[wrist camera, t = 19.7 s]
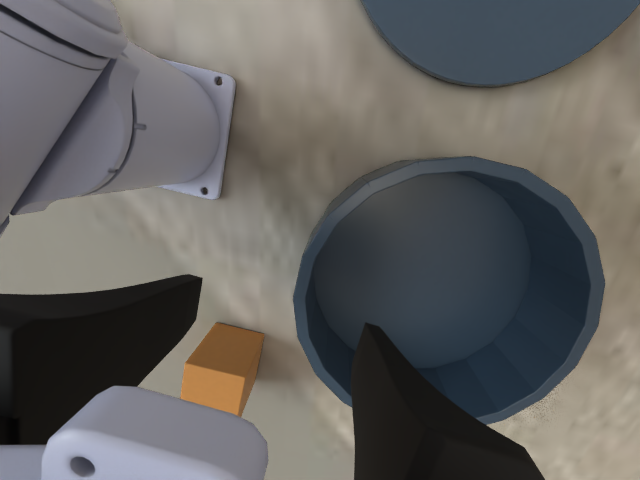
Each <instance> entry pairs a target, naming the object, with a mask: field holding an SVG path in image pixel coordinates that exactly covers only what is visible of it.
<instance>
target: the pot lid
mask: <svg viewBox="0 0 640 480" xmlns="http://www.w3.org/2000/svg"><path fill="white" fill-rule="evenodd" d="M361 2H362V4H363V6H364V8H365V10H366V12H367V14H368V16H369V18H370V20H371V21H372V23H373V24H374V26H375V27H376V29H377V30H378V31H379V33H380V34H381V36H382V37H383V38H384V39H385V41H386V42H387V43H388V44H389V45H390V46H391V47H392V48H393V49H394V50H395V51H396V52H397V53H398V54H399V55H400V56H402V57H403V58H404V59H405V60H407V61H408V62H409V63H410V64H412V65H413V66H415V67H417V68H418V69H420V70H422V71H424V72H425V73H427V74H429V75H432V76H434V77H437V78H439V79H442V80H444V81H448V82H452V83H456V84H461V85H467V86H478V87H489V86H504V85H509V84H515V83H520V82H524V81H527V80H530V79H533V78H536V77H539V76H542V75H545V74H547V73H549V72H552V71H554V70H556V69H558V68H560V67H562V66H564V65H567V64H569V63H570V62H572V61H573V60H575V59H577V58H578V57H580V56H582V55H583V54H585V53H587V52H588V51H589V50H591V49H592V48H593V47H595V46H596V45H597V44H599V43H600V42H601V41H603V40H604V39H605V38H606V37H608V36H609V35H610V34H611V33H612V32H613V31H614V30H615V29H616V28H617V27H618V26H619V25H620V24H621V23H623V22H624V21H625V20H626V19H627V18H628V16H629V15H630V14H631V13H632V12H633V11H634V10H635V8H636V7H637V6H638V5H639V4H640V0H361Z"/></svg>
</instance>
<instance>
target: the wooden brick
mask: <svg viewBox="0 0 640 480" xmlns="http://www.w3.org/2000/svg"><path fill="white" fill-rule="evenodd" d="M263 340H264V334H262V333H258V332H254V331H250V330H246V329H241V328H237V327H233V326H229V325H225V324H221V323H215V325H214V326H213V327H212V329H211V330H210V331H209V333H208V334H207V335H206V336H205V338H204V339H203V340H202V342H201V343H200V344H199V346H198V347H197V348H196V349H195V351H194V352H193V353H192V355H191V356H190V357H189V359H188V360H187V361H186V362H185V366H184V374H183V382H182V390H181V397H180V399H183V400H187V401H190V402H194V403H197V404H201V405H204V406H208V407H211V408H215V409H219V410H222V411H226V412H229V413H233V414H235V415H237V416H239V417H241V416H242V413H243V410H244V408H245V405H246V403H247V400H248V397H249V395H250V392H251V390H252V387H253V385H254V382H255V378H256V374H257V369H258V364H259V359H260V354H261V350H262V345H263Z"/></svg>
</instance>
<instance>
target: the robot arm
mask: <svg viewBox="0 0 640 480" xmlns="http://www.w3.org/2000/svg"><path fill="white" fill-rule="evenodd" d="M219 78H222V84H221V85H220V86H218V85H217V80H218V79H219ZM235 88H236V82H235V80H234V79H233V78H232V77H231V76H230V75H228V74H224V73H219V72H215V71H211V70H207V69H203V68H199V67H195V66H190V65H186V64H182V63H178V62H174V61H170V60H166V59H161V58H158V57H156V56H154V55H153V54H151V53H149V52H147V51H146V50H144V49H142V48H140V47H139V46H137V45H135V44H133V43H132V42H130V41H128V39H127V36H126V34H125V32H124V30H123V29H122V26H121V23H120V20H119V16H118V13H117V10H116V8H115V6H114V5H113V3H112V2H111V1H110V0H0V237H1V236H2V234H3V232H4V230H5V229H6V227H7V225H8V224H9V213H10V214H11V215H19V214H25V213H31V212H37V211H44V210H45V209H46V208H47V207H48V205H49V204H51V203H52V202H54V201H56V200H59V199H64V198H72V197H78V196H87V195H95V194H102V193H110V192H117V191H125V190H132V189H140V188H147V187H155V186H156V187H160V188H164V189H168V190H173V191H177V192H181V193H185V194H189V195H193V196H197V197H201V198H206V199H210V200H215V199H218V198H219V197H220V194H221V187H222V180H223V173H224V166H225V159H226V152H227V145H228V138H229V131H230V124H231V116H232V109H233V102H234V95H235ZM204 187H205V188H207V189H208V194H205V193H204V192H203V189H204ZM202 279H203V278H201V277H197V276H193V275H190V274H188V275H180V276H175V277H171V278H166V279H162V280H158V281H153V282H149V283H144V284H139V285H134V286H129V287H124V288H118V289H112V290H104V291H96V292H86V293H70V294H51V295H21V294H0V480H264V476H265V472H266V468H267V464H268V449H267V442H266V440H265V439H264V438H263V436H262V435H261V434H260V432H259V431H258V429H257V428H256V427H255V425H254V424H252V423H251V422H249V421H247V420H245V419H243V418H241V417H239V416H237V415H235V414H233V413H229V412H226V411H222V410H219V409H215V408H211V407H208V406H204V405H201V404H197V403H194V402H190V401H187V400H183V399H179V398H176V397H172V396H169V395H165V394H162V393H158V392H154V391H151V390H147V389H144V388H140V387H137V386H138V385H139V384H140V383H141V382H142V380H143V379H144V378H145V377H146V376H147V375H148V374H149V373H150V372H151V371H152V370H153V369H154V368H155V367H156V366H157V365H158V364H159V363H160V362H161V361H162V359H163V358H164V357H165V356H166V355H167V354H168V353H169V352H170V351H171V350H172V349H173V348H174V347H175V346H176V345H177V344H178V343H179V342H180V341H181V339H182V338H183V337H184V336H185V334H186V333H187V332H188V330H189V329H190V328H191V326H192V325H193V323H194V322H195V320H196V316H197V310H198V304H199V298H200V292H201V286H202ZM351 396H352V409H353V422H354V435H355V471H354V480H545V479H544V477H543V476H542V474H541V472H540V471H539V469H538V468H537V466H536V465H535V463H534V461H533V460H532V458H531V457H530V455H529V454H528V452H527V451H526V449H525V448H524V447H523V446H521V445H519V444H517V443H516V442H514V441H512V440H510V439H509V438H507V437H505V436H503V435H502V434H500V433H498V432H496V431H495V430H493V429H491V428H490V427H488V426H486V425H485V424H483V423H482V422H480V421H479V420H477V419H476V418H474V417H473V416H471V415H470V414H468V413H467V412H466V411H464V410H463V409H461V408H460V407H459V406H457V405H456V404H455V403H453V402H452V401H451V400H450V399H448V398H447V397H446V396H444V395H443V394H442V393H441V392H440V391H438V390H437V389H436V388H435V387H434V386H433V385H432V384H431V383H430V382H428V381H427V380H426V379H425V378H424V377H423V376H422V375H421V374H420V373H419V372H418V371H417V370H416V369H415V368H414V367H413V366H412V365H411V363H410V362H409V361H408V360H407V359H406V358H405V357H404V356H403V354H402V353H401V352H400V351H399V350H398V348H397V347H396V346H395V345H394V343H393V342H392V341H391V340H390V338H389V337H388V336H387V335H386V333H385V332H384V331H383V330H382V329H381V327H380V326H377V325H373V324H369V323H366V322H365V325H364V328H363V331H362V334H361V337H360V340H359V343H358V346H357V349H356V352H355V355H354V358H353V361H352V370H351Z"/></svg>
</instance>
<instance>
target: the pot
mask: <svg viewBox="0 0 640 480" xmlns="http://www.w3.org/2000/svg"><path fill="white" fill-rule="evenodd" d="M604 288H605V278H604V274H603V269H602V264H601V260H600V255H599V250H598V245H597V241H596V238H595V235H594V234H593V232H592V231H591V229H590V228H589V226H588V225H587V224H586V222H585V221H584V219H583V218H582V216H581V215H580V213H579V212H578V210H577V209H576V207H575V206H574V205H573V203H572V202H571V200H570V199H569V198H568V197H567V196H566V195H564V194H563V193H561V192H560V191H558V190H557V189H555V188H554V187H552V186H551V185H549V184H548V183H546V182H545V181H543V180H542V179H540V178H539V177H537V176H536V175H534V174H533V173H531V172H530V171H528V170H527V169H524V168H520V167H516V166H512V165H507V164H503V163H499V162H495V161H491V160H487V159H483V158H479V157H472V156H465V157H442V158H429V159H417V160H406V161H399V162H395V163H393V164H390V165H388V166H386V167H383V168H380V169H378V170H375V171H373V172H371V173H369V174H366V175H364V176H362V177H361V178H359V179H358V180H356V181H355V182H354V183H353V184H352V185H350V186H349V187H347V188H346V189H345V190H344V191H343V192H342V193H341V194H340V195H339V196H338V197H336V198H335V199H334V200H333V201H332V202H331V203H330V204H329V206H328V207H327V209H326V211H325V212H324V214H323V216H322V217H321V219H320V220H319V222H318V224H317V225H316V227H315V228H314V230H313V232H312V234H311V236H310V238H309V241H308V243H307V246H306V248H305V251H304V253H303V256H302V260H301V265H300V269H299V273H298V278H297V282H296V286H295V291H294V295H293V303H294V311H295V320H296V328H297V337H298V339H299V341H300V343H301V346H302V348H303V350H304V352H305V354H306V356H307V358H308V360H309V362H310V364H311V366H312V368H313V370H314V372H315V374H316V375H317V376H318V377H319V378H320V379H321V380H322V381H323V382H324V383H325V385H326V386H327V387H328V388H329V389H330V390H331V391H332V392H333V393H334V394H335V395H336V396H337V397H338V398H339V399H340V400H341V401H342V402H343V403H345V404H347V405H349V406H350V407H352V396H351V370H352V361H353V358H354V355H355V352H356V349H357V346H358V343H359V340H360V337H361V334H362V331H363V328H364V325H365V322H366V323H369V324H373V325H377V326H380V327H381V329H382V330H383V331H384V332H385V333H386V335H387V336H388V337H389V338H390V340H391V341H392V342H393V343H394V345H395V346H396V347H397V348H398V350H399V351H400V352H401V353H402V354H403V356H404V357H405V358H406V359H407V360H408V361H409V362H410V363H411V365H412V366H413V367H414V368H415V369H416V370H417V371H418V372H419V373H420V374H421V375H422V376H423V377H424V378H425V379H426V380H427V381H428V382H430V383H431V384H432V385H433V386H434V387H435V388H436V389H437V390H438V391H440V392H441V393H442V394H443V395H444V396H446V397H447V398H448V399H450V400H451V401H452V402H453V403H455V404H456V405H457V406H459V407H460V408H461V409H463V410H464V411H466V412H467V413H468V414H470V415H471V416H473V417H474V418H476V419H477V420H479V421H480V422H482V423H483V424H485V425H487V424H491V423H495V422H499V421H503V420H505V419H507V418H509V417H510V416H512V415H514V414H516V413H518V412H520V411H521V410H523V409H525V408H527V407H529V406H530V405H532V404H534V403H536V402H538V401H540V400H541V399H543V398H544V397H545V396H546V395H547V394H548V393H550V392H551V391H552V390H553V389H554V388H555V387H556V386H557V385H558V384H559V383H560V382H561V381H562V380H563V379H564V378H565V377H566V376H567V375H568V374H569V373H570V372H571V371H572V370H573V369H574V368H575V366H577V364H578V362H579V360H580V358H581V357H582V355H583V353H584V351H585V349H586V348H587V346H588V344H589V342H590V340H591V338H592V337H593V335H594V333H595V331H596V329H597V327H598V324H599V318H600V312H601V306H602V300H603V294H604Z"/></svg>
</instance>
